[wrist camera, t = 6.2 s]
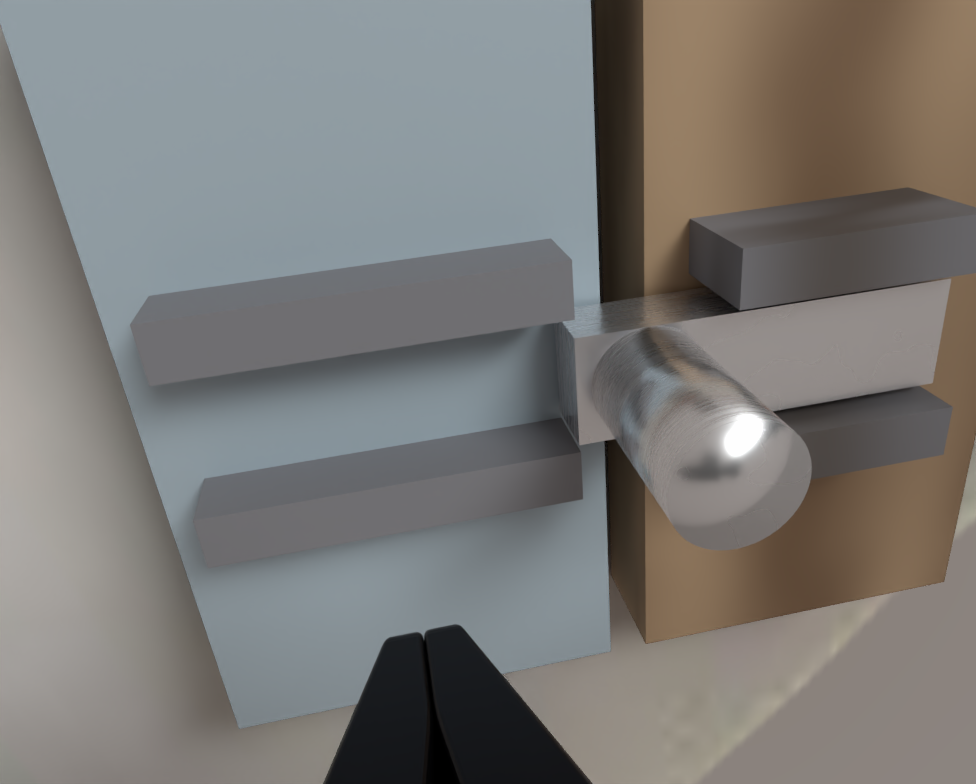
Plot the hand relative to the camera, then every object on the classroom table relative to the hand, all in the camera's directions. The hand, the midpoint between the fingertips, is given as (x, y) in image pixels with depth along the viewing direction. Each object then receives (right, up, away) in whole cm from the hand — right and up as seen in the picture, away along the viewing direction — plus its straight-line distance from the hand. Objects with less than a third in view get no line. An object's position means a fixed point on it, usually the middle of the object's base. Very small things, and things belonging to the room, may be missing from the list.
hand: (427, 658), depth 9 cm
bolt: (+6, +4, +9) cm, 12 cm away
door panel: (-2, +4, +11) cm, 12 cm away
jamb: (+8, +6, +12) cm, 16 cm away
